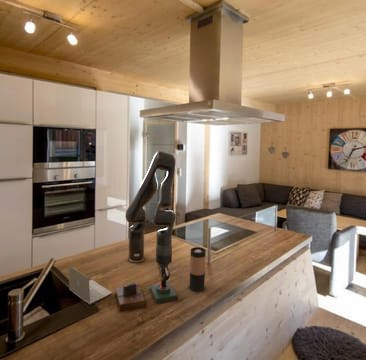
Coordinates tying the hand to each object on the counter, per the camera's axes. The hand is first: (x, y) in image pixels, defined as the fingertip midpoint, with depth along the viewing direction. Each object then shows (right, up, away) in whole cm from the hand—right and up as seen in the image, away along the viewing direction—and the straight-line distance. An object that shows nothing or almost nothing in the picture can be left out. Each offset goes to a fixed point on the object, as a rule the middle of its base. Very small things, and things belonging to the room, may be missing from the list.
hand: (163, 286), depth 134 cm
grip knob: (-15, -2, -5) cm, 16 cm away
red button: (0, -2, 0) cm, 2 cm away
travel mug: (+16, -4, +7) cm, 18 cm away
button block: (0, -4, +1) cm, 4 cm away
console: (-15, -5, -4) cm, 17 cm away
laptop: (-35, -4, +1) cm, 35 cm away
